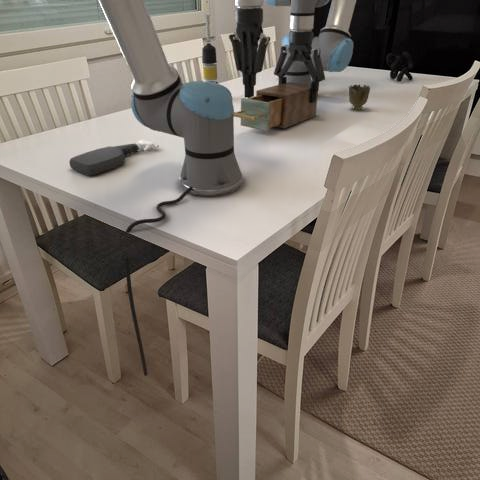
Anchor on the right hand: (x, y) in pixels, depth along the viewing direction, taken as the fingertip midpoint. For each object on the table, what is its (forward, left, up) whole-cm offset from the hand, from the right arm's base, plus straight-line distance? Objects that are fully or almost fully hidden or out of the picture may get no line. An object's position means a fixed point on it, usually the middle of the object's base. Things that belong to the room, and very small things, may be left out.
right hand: (297, 99), depth 154 cm
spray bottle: (+48, -47, -6) cm, 67 cm away
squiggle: (-60, +42, -6) cm, 73 cm away
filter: (-19, -35, -6) cm, 41 cm away
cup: (-10, +21, -6) cm, 24 cm away
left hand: (+25, -13, +7) cm, 29 cm away
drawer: (+17, -9, -4) cm, 19 cm away
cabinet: (+6, -3, -5) cm, 9 cm away
